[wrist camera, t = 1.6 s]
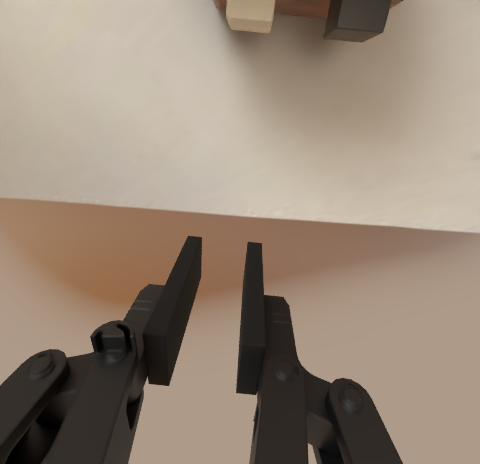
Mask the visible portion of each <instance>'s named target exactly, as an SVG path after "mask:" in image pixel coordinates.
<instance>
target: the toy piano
mask: <svg viewBox="0 0 480 464" xmlns="http://www.w3.org/2000/svg"><path fill="white" fill-rule="evenodd" d="M213 1H214V3H215V5H216V8H223V9H226V4H227V0H213ZM402 1H403V0H392V2H391V5H390V8H392V7H393V6H395V5H396V4H398V3H400V2H402ZM329 5H330V0H275V7H274V13H275V14H285V15H296V16H306V17H316V18H327V15H328V10H329Z"/></svg>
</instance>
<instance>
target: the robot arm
mask: <svg viewBox="0 0 480 464" xmlns="http://www.w3.org/2000/svg"><path fill="white" fill-rule="evenodd" d="M201 255H202V238H201V237H194V236H188V237H187V239H186V242H185V244H184V246H183V248H182V250H181V252H180V254H179V256H178V258H177V261H176V263H175V265H174V267H173V269H172V271H171V274H170V275H169V278H168V280H167V282H166V284H165V286H163V285H154V284H149V285H147V286H146V287H145V288H144V289H142V290H141V291H140V293H139V294H138V296H137V298H136V299H135V302H134V303H133V305H132V306H131V309H130V310H129V311H128V313H127V315H126V317H125V318H124V320H123V321H120V320H117V321H110V322H108V323H106V324H103V325H102V326H100V327H99V328H97V329H96V330H95V331H94V332H93V334H92V335H91V336H90V337H91V341H92V345H93V349H94V352H92V353H89V354H84V355H79V356H74V357H68V358H67V357H66V356H65V353H64V352H62V351H60V350H56V349H54V350H53V349H49V350H46V351H42V352H39V353H37V354H35V355H33V356H31V357H30V358H29V359H27V360H26V361H25V362H24V363H22V364H21V365H20V366H19V367H18V368H17V370H15V372H13V374H11V375H10V376H9V377H8V378H7V380H5V381H4V382H3V383H2V385H1V386H0V464H128V461H129V457H130V453H131V449H132V445H133V440H134V436H135V432H136V428H137V424H138V419H139V415H140V411H141V407H142V402H143V398H144V391H143V387H144V385H145V382H146V379H147V377H148V381H149V384H156V385H165V386H169V384H170V380H171V377H172V374H173V371H174V367H175V364H176V360H177V357H178V354H179V350H180V347H181V343H182V340H183V337H184V333H185V330H186V326H187V323H188V320H189V316H190V313H191V309H192V306H193V303H194V299H195V295H196V292H197V289H198V286H199V282H200V279H201ZM236 393H243V394H252V395H256V394H257V407H256V412H255V416H254V429H253V438H252V446H251V454H250V463H249V464H308V443H309V444H311V445H312V446H313V449H314V454H315V457H316V462H317V464H403V463H402V461H401V459H400V457H399V454H398V453H397V450H396V448H395V446H394V444H393V442H392V440H391V438H390V436H389V434H388V432H387V430H386V428H385V425H384V423H383V422H382V420H381V417H380V415H379V413H378V411H377V409H376V407H375V405H374V403H373V401H372V399H371V397H370V396H369V394H368V393H367V391H366V390H365V389H364V388H363V387H362V386H361V385H359V384H358V383H356V382H354V381H352V380H351V379H345V378H341V379H336V380H335V381H334V382H333V383H330V382H327V381H325V380H322V379H320V378H318V377H316V376H314V375H312V374H310V373H309V372H308V371H307V370H305V368H304V367H303V366H302V365H301V364H300V362H299V360H298V357H297V352H296V346H295V340H294V334H293V327H292V321H291V317H290V309H289V305H288V303H287V302H286V300H285V299H284V297H278V296H268V295H264V288H263V264H262V244H261V243H253V242H248V246H247V253H246V262H245V270H244V279H243V293H242V309H241V325H240V341H239V357H238V372H237V388H236Z"/></svg>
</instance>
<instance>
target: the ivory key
mask: <svg viewBox="0 0 480 464" xmlns="http://www.w3.org/2000/svg"><path fill="white" fill-rule="evenodd" d="M274 7H275V0H227V4H226V18H227V21H228V23H229V26H230V28H231V30H240V31H251V32H261V33H270V31H271V27H272V23H273V16H274Z"/></svg>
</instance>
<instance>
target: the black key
mask: <svg viewBox="0 0 480 464" xmlns="http://www.w3.org/2000/svg"><path fill="white" fill-rule="evenodd" d="M391 2H392V0H330V5H329V10H328V15H327V21H326V26H325V31H324V36H323V38H324V39H332V40H342V41H353V42H364V41H366V40H368V39H370V38H372V37H374V36H377V35H379V34H381V33H383V30H384V27H385V23H386V20H387V16H388V12H389V9H390V5H391Z"/></svg>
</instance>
